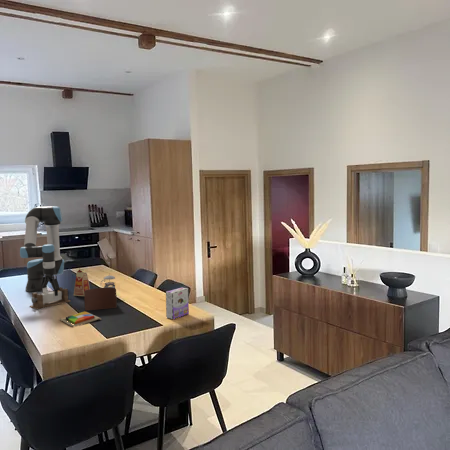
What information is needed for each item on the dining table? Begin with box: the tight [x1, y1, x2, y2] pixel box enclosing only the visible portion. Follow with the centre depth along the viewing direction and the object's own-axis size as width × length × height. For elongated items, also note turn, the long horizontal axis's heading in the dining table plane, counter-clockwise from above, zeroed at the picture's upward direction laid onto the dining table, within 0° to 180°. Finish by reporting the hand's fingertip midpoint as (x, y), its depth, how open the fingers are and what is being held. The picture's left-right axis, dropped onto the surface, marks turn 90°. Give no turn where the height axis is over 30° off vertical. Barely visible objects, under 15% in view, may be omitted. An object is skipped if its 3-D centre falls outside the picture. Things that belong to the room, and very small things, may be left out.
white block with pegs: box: [30, 291, 63, 304], centre depth 288 cm, size 5×24×6 cm, turn 142°
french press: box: [99, 261, 117, 298], centre depth 306 cm, size 10×12×25 cm
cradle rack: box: [29, 286, 72, 310], centre depth 288 cm, size 10×24×9 cm, turn 142°
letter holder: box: [83, 287, 118, 312], centre depth 279 cm, size 10×20×14 cm, turn 109°
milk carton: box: [73, 268, 91, 297], centre depth 313 cm, size 9×9×20 cm
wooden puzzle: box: [58, 310, 102, 327], centre depth 253 cm, size 18×19×4 cm
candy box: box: [165, 287, 190, 320], centre depth 258 cm, size 14×6×16 cm, turn 141°
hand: (50, 298), depth 288 cm, fingers open, 13 cm apart
